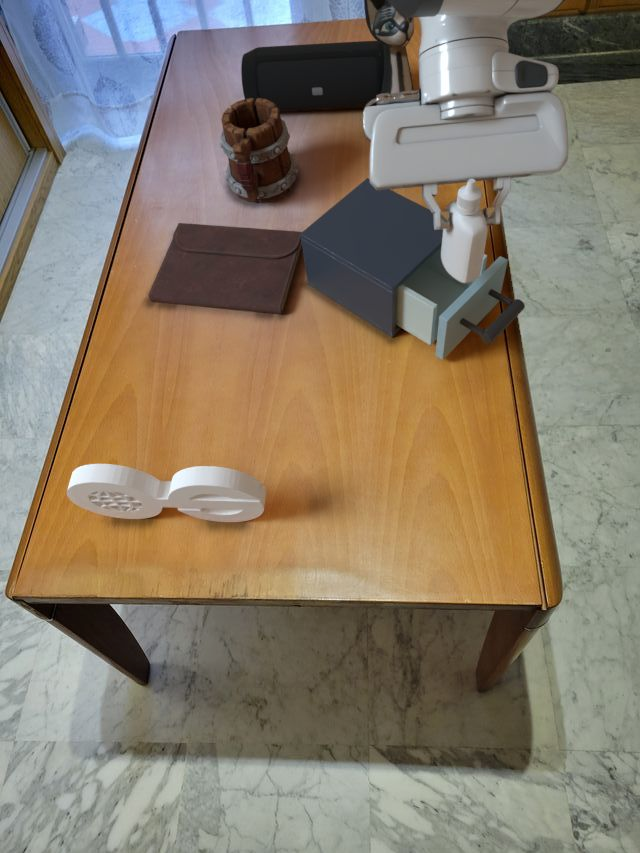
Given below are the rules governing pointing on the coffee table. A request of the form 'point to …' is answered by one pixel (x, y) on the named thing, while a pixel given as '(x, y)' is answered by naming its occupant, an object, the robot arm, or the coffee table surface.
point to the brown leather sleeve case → (228, 268)
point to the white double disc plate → (167, 492)
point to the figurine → (391, 43)
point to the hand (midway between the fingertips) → (467, 227)
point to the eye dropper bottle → (465, 235)
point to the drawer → (452, 304)
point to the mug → (257, 151)
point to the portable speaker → (315, 75)
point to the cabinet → (369, 251)
